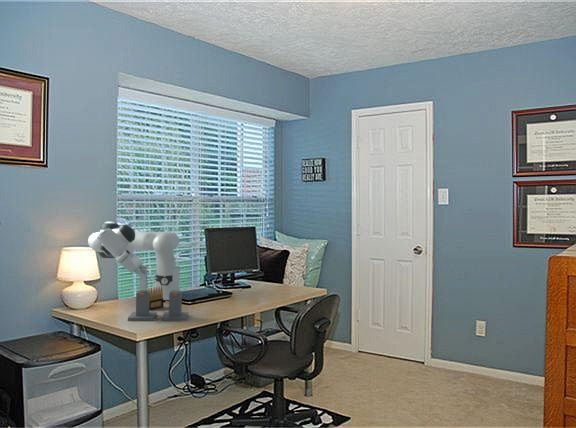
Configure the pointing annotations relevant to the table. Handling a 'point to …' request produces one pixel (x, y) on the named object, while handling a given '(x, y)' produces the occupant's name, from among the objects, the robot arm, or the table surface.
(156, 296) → the ammunition clip
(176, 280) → the right jack stand
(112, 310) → the table surface
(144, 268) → the left jack column
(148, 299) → the base
